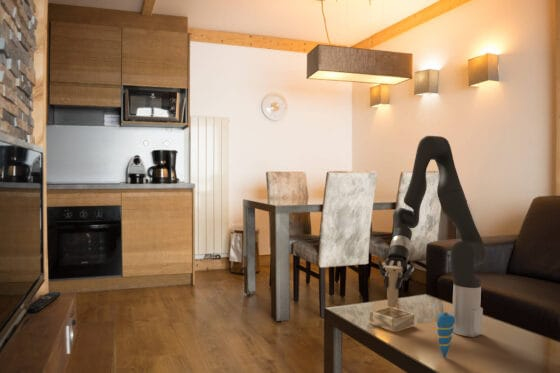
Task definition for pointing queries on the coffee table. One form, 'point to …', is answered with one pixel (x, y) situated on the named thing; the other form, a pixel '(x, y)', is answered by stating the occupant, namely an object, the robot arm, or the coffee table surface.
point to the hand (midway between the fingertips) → (391, 287)
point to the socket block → (392, 319)
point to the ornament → (445, 331)
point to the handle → (392, 285)
